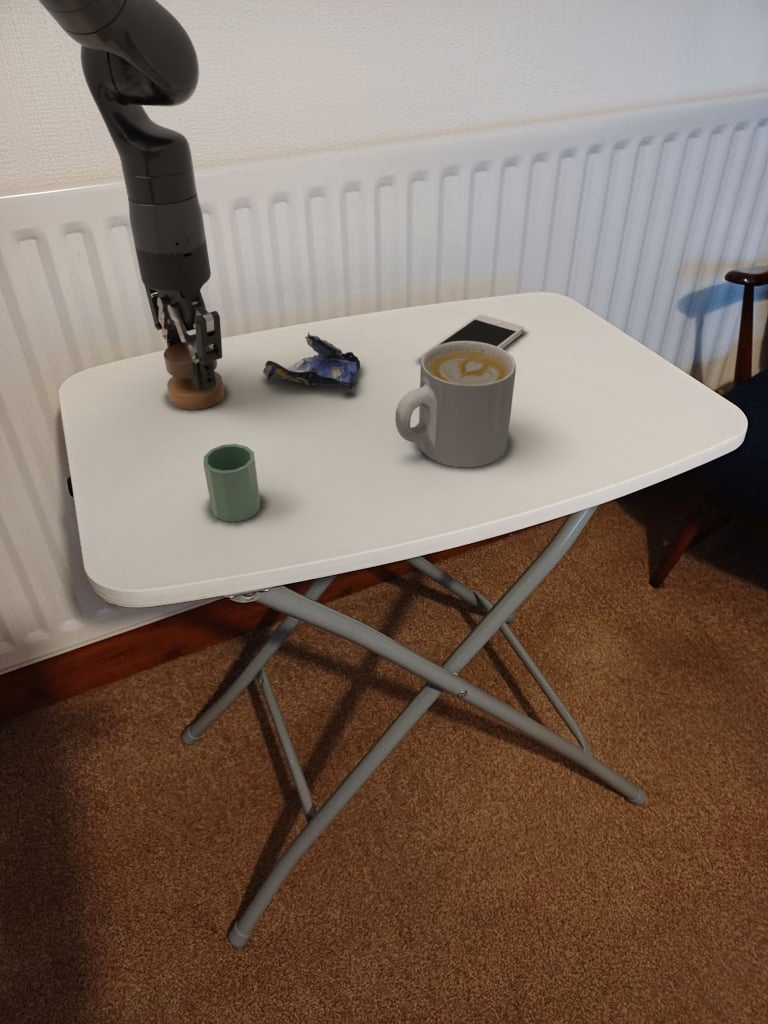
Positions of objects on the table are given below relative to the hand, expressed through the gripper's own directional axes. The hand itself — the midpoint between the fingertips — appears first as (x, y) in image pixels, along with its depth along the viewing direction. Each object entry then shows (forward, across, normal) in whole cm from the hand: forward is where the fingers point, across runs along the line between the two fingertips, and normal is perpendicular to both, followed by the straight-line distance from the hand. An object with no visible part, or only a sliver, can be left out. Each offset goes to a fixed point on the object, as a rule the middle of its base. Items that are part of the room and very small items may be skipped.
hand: (193, 376), depth 95 cm
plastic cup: (+3, +22, -7) cm, 23 cm away
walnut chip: (-1, 0, 0) cm, 1 cm away
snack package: (+3, +6, +14) cm, 15 cm away
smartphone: (+3, +12, +36) cm, 38 cm away
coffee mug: (+3, +27, +17) cm, 32 cm away
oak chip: (+3, 0, 0) cm, 3 cm away
